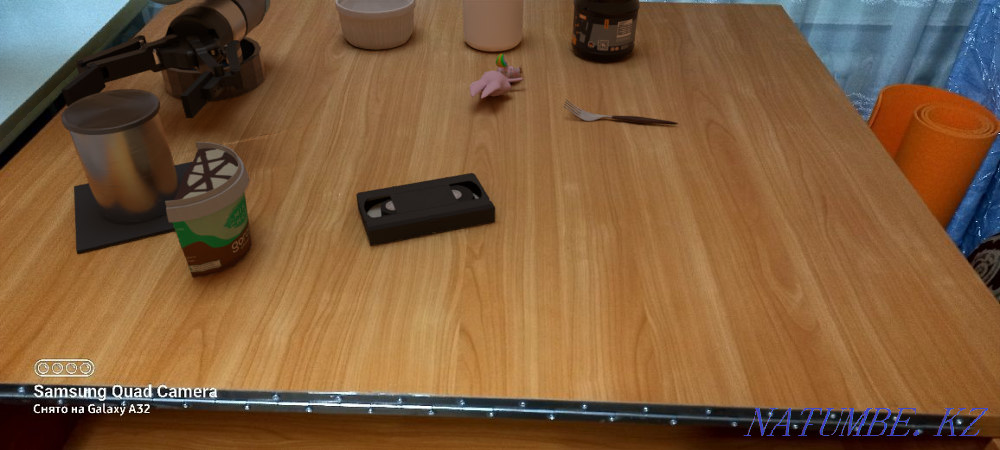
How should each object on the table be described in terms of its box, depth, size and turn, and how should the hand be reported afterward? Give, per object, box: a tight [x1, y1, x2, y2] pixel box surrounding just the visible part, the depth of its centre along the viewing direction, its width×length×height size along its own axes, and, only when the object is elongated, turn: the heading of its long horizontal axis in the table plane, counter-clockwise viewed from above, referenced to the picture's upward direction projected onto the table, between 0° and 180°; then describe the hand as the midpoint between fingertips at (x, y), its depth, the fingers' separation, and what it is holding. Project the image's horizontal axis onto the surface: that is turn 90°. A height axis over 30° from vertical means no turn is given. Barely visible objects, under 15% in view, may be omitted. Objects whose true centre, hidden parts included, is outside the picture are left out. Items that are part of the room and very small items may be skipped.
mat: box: [73, 161, 193, 255], centre depth 86 cm, size 14×14×1 cm
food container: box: [165, 141, 253, 278], centre depth 77 cm, size 12×6×10 cm, turn 5°
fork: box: [563, 98, 679, 125], centre depth 103 cm, size 3×16×2 cm, turn 78°
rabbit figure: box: [469, 53, 524, 99], centre depth 109 cm, size 6×6×15 cm
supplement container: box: [570, 0, 641, 63], centre depth 120 cm, size 10×10×12 cm
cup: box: [462, 0, 524, 53], centre depth 124 cm, size 10×10×10 cm
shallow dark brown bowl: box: [157, 36, 267, 102], centre depth 111 cm, size 14×14×5 cm
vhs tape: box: [355, 172, 496, 247], centre depth 84 cm, size 14×8×2 cm, turn 109°
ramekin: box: [334, 0, 417, 51], centre depth 126 cm, size 13×13×7 cm
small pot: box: [60, 88, 180, 224], centre depth 82 cm, size 10×10×12 cm
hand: (127, 104), depth 82 cm, fingers open, 13 cm apart
